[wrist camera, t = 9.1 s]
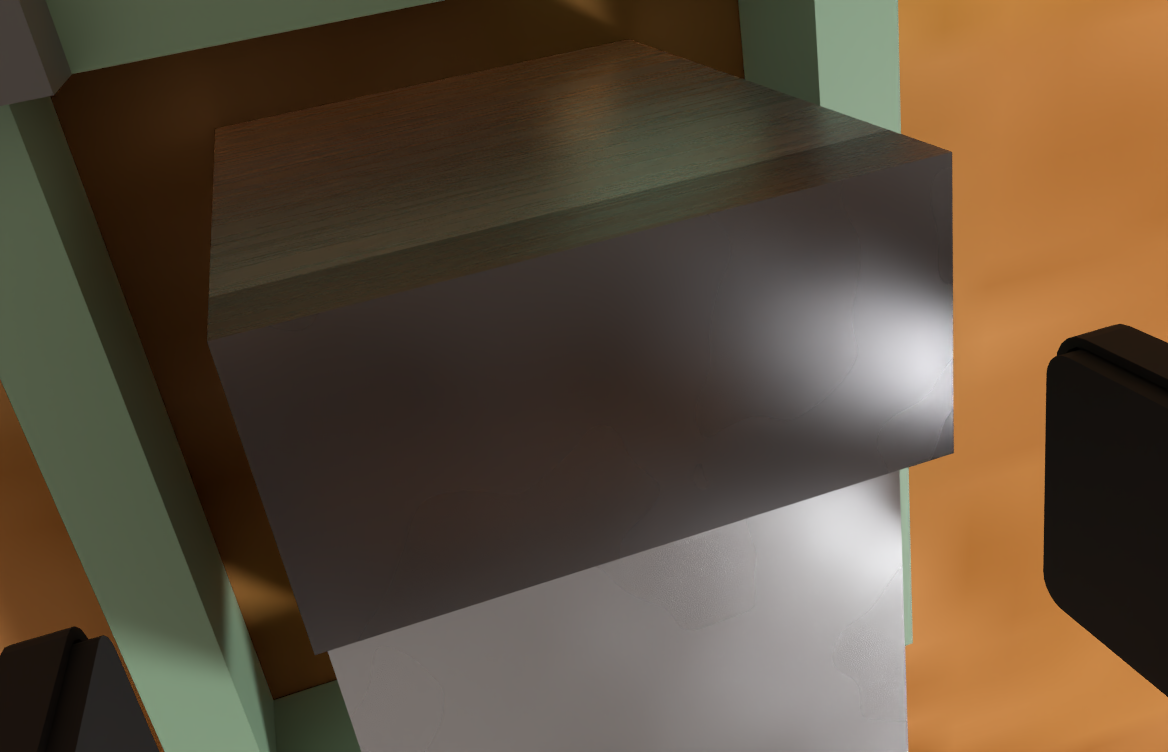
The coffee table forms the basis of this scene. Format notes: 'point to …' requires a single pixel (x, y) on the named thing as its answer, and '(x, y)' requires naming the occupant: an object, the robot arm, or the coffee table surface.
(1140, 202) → the coffee table surface
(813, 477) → the chute block
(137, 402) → the frame
